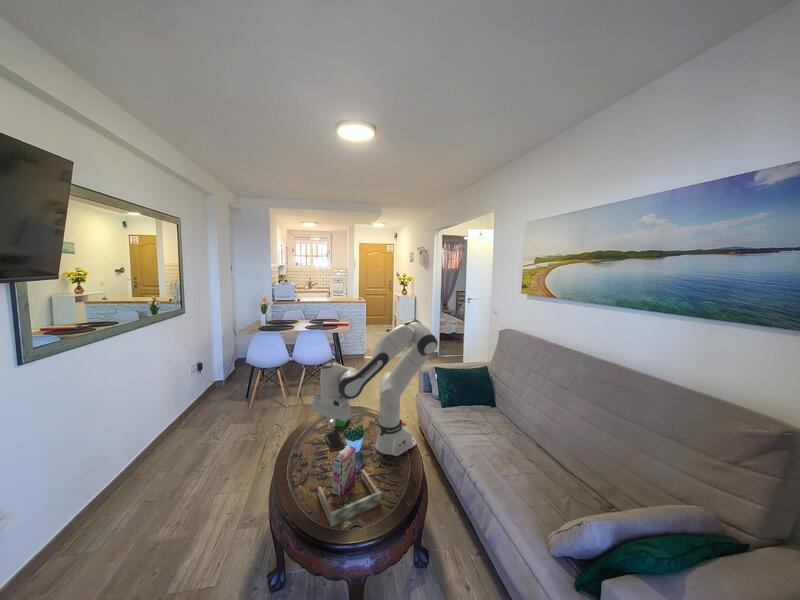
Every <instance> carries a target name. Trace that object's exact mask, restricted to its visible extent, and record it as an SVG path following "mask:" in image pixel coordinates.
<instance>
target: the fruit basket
mask: <svg viewBox="0 0 800 600" xmlns="http://www.w3.org/2000/svg"><path fill="white" fill-rule="evenodd" d="M349 420H350V418H349V419H348V420H347V421H342V420H339V419H336V421H335V425H334V426H335V427H338V428H345V426H346V424H347V423H348V421H349Z"/></svg>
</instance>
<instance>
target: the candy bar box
mask: <svg viewBox="0 0 800 600" xmlns="http://www.w3.org/2000/svg"><path fill="white" fill-rule="evenodd" d="M355 480H356V447H354V446H351V445H346V446H345V447H344V448H343V449H341V450H340V452H338V453H337V454H336V455H335V456H334V457H333V458H332V486H331V487H332V494H333V495H336V496H338V497H341V498H342V497H343V496H344V494H345V493H346V492H347V490H349V488H350V487H351V486H352V485H353V483H354V482H355Z"/></svg>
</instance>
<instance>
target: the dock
mask: <svg viewBox="0 0 800 600" xmlns="http://www.w3.org/2000/svg"><path fill="white" fill-rule="evenodd" d="M360 476H361V477H360V478H361V480H362V481H363V483H364V485H365V486H366V487H367V489H368V490H369V493H370V494H369V495H367V496H365V497H363V498H361V499H358V500H356V501H354V502H352V503H349V504H347V505H344V506H343V507H340V508H338V509H336V510H334V511H333V510H332V508H331V506H330V503H329V502H328V499H327V497H326V494H325V493H324V490H323V488H322V486H318V487H317V497H318V499H319V501H320V504H321V506H322V508H323V511H324V513H325V515H326V518H327V520H328V522H329V525H330V527H335V526H337V525H338V524H340V523H343V522H345V521H347V520H349V519H352V518H354V517H356V516H358V515H360V514H361V513H364V512H366V511H369V510H370V509H373V508H374V507H377V506H379V505H381V504H382V492H381V490H379V489H378V488H377V487H376V485H375V484H374V482H373V480H372V479H371V478H370V476H369V474H368V472H367V471H366V470H365V469H361V475H360Z"/></svg>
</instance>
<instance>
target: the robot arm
mask: <svg viewBox="0 0 800 600" xmlns="http://www.w3.org/2000/svg"><path fill="white" fill-rule="evenodd" d="M438 344H439V343H438V339H437V338H436V336H435V335H434V334H433V333H432V332H431V330H429V328H428V327H426V326H425V325H424V324H422V322H421V321H419V320H418V319H415V318H411V319H408V320H407V321H405V322H404V323H403V324H400V325H397V326H396V327H394V328H392V329H391V330H389V331H388V332H386V333H385V334H384V335H383V336H382V337H380V339H379V340H378V341H377V342H376V343H375V345H374V350H373V354H372V357H371V358H370V360H369V361H368V362H367V363H366V364H365V365H364V366H362V368H360V369H359V371H358V369H357V368H355V367H354V366H344V365H342V364H340V363H338V362H336V361H329V362H327V363H325V364H324V365H322V367H321V369H320V375H319V380H320V382H319V383H320V386H321V389H320V393H319V392H316V393H314V395H313V402H312V411H313V412H314V413H316V414H320V415H323V416H325V419H326V421H327V424H328V425H330V426H335V421H336V419H339V420H342V421H347V420H348V419H349V420H350V419H351V417H352V409H351V405H350V403H349V402H350V400H354V399H356V398H358V397H359V396H360V394H361V393H362V391H363V389H364V388H365V386H366V385H367V384H368V383H369V382H370V381H371V380H372V379H373V378H374V377H376V375H378V374H379V372H380V371H382V370H383V369H384V368H385V367H386V366H387V365H388V363H390V361H392V360H393V359H394V358H395V357H397V356H398V355H399V354H400V353H401V352H403V351H404V349H406V347H408V346H409V345H411V347H409V348H408V350H406V352H405V353H404V354H403V355H402V356H401V358H400V359H399V360H398V361H397V362H396V364H395V366H394V367H393V370H392V371H386V372H384V373H383V374H382V376H381V378H380V380H379V393H378V395H379V398H378V399H379V402H378V405H379V406H378V407H379V408H378V422H377V439H376V443H375V449H376V450H377V451H378V452H379V453H381V454H382V455H391V456H394V457H398V456H400V455H402V454H404V453H405V452H407V451H408V449H409V450H410V449H412V448H414V447H415V446H417V441H416V439H415V438H414V436H413V435H412V434H413V433H412V432H411V431H410V429H409V428H408V427H406V425H407V423H406V422H405V421H404V420H402V419H400V416H401V397H402V395H403V394H404V392H405V391H406V389H407V387H408V386H409V385H410V382H411V381H412V380H413V378H414V377H415V375H417V373H418V372H420V370H421V368H422V367H423V366H424V365H425V364H426V362H427V360H428V359H429V357H430V356H431V355H432V354H434V352H435V351H436V350H437V347H438V346H439V345H438ZM349 420H348V421H349ZM413 440H414V441H413ZM414 442H415V443H414Z"/></svg>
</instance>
